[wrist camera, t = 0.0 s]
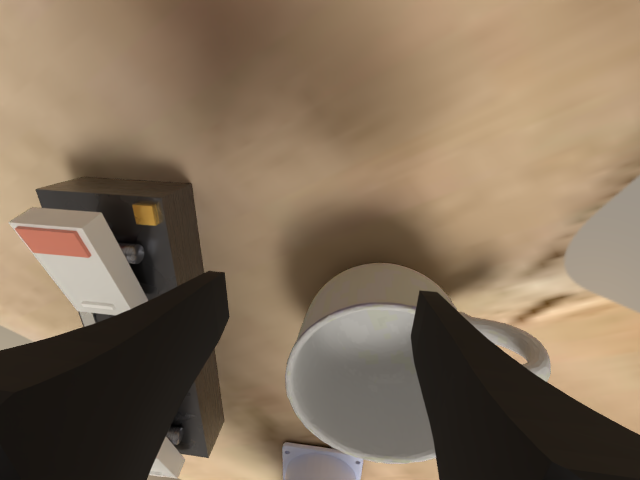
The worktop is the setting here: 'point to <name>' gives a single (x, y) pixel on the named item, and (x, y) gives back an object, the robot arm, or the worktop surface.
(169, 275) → the switch panel
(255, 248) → the worktop surface
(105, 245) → the rocker
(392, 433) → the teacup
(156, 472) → the block
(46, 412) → the robot arm
